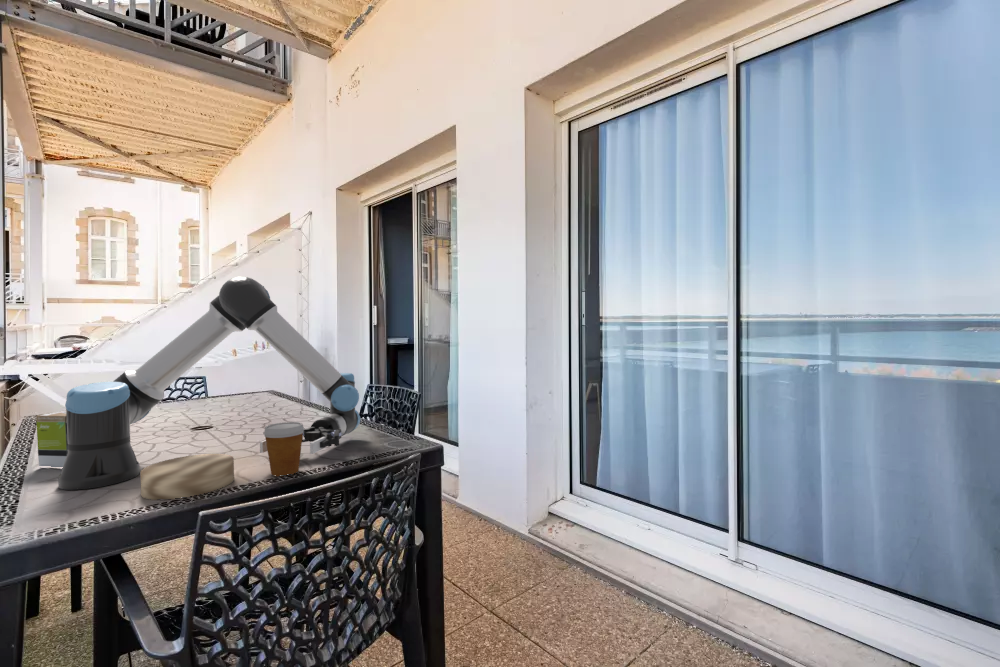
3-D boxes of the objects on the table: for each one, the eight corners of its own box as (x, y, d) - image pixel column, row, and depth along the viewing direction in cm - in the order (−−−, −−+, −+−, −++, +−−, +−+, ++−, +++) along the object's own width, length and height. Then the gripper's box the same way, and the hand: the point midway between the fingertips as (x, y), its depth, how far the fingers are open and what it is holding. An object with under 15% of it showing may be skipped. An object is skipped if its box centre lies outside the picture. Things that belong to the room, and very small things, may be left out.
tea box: (94, 453, 138) (93, 404, 138) (123, 454, 136) (121, 405, 136) (36, 469, 123) (35, 414, 123) (67, 470, 121) (65, 414, 121)
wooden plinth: (119, 498, 100) (118, 475, 100) (186, 472, 118) (185, 453, 118) (194, 501, 97) (193, 477, 97) (250, 474, 115) (250, 454, 115)
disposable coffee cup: (295, 478, 111) (293, 429, 111) (256, 479, 111) (255, 429, 111) (311, 466, 121) (310, 421, 121) (276, 467, 121) (275, 421, 121)
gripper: (368, 442, 135) (333, 463, 114) (289, 441, 139) (241, 461, 118) (367, 417, 135) (332, 433, 114) (288, 416, 139) (240, 432, 117)
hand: (286, 447), depth 116 cm, fingers open, 13 cm apart
